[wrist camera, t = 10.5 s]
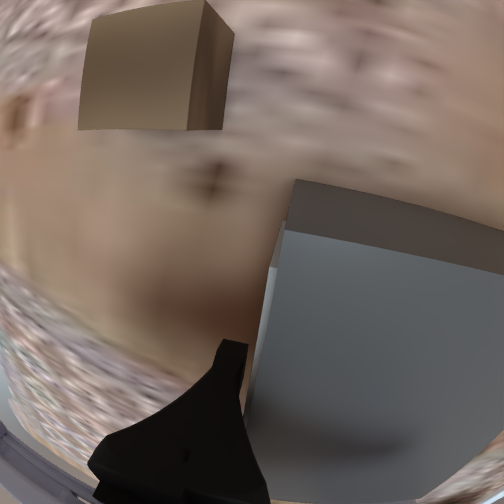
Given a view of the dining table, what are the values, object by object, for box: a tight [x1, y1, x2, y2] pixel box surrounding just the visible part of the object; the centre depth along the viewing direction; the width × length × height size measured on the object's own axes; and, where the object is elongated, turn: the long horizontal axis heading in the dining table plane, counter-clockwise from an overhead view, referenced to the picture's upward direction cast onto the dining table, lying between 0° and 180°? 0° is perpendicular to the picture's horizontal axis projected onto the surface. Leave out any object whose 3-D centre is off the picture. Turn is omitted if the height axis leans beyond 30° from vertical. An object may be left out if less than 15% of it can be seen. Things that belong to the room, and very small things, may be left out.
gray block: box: [246, 179, 504, 504], centre depth 10 cm, size 14×11×6 cm
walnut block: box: [78, 0, 234, 131], centre depth 8 cm, size 4×4×4 cm
